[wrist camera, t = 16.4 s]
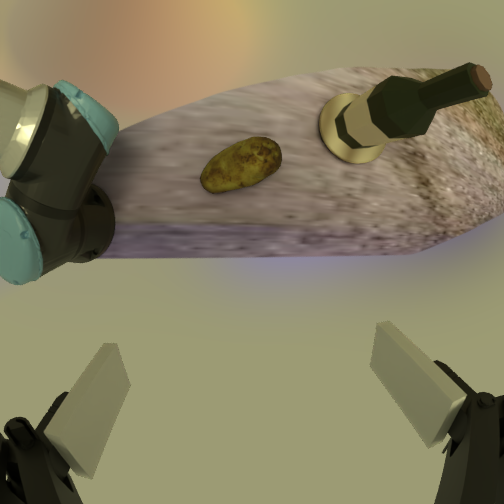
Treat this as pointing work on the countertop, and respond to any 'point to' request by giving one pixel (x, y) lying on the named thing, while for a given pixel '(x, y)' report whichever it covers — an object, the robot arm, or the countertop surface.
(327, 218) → the countertop surface
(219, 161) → the potato
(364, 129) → the wine bottle
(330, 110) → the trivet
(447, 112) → the countertop surface
